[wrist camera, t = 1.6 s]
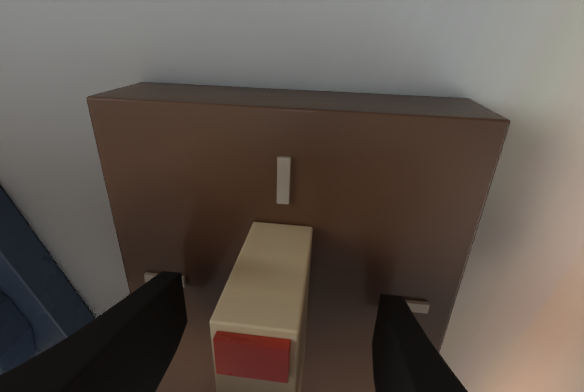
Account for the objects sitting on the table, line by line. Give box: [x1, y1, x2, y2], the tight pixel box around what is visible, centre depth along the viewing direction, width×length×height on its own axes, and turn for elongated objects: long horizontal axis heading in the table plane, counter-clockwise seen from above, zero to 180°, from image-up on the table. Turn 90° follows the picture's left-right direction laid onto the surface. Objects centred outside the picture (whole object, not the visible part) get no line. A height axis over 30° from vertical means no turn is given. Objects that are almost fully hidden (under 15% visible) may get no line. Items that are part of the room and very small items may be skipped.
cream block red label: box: [209, 222, 313, 392], centre depth 10 cm, size 5×2×4 cm, turn 179°
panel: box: [86, 82, 510, 392], centre depth 13 cm, size 14×11×3 cm
